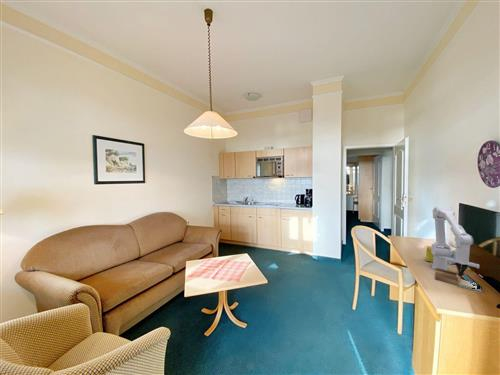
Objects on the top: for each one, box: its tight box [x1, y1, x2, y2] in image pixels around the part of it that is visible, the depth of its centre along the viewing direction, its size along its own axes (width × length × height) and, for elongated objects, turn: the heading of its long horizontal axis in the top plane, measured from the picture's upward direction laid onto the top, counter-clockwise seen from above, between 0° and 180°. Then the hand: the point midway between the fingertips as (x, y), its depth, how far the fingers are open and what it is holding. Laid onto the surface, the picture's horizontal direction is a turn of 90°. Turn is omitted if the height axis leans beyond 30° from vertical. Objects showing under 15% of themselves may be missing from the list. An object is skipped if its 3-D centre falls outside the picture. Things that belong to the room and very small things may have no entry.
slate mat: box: [457, 283, 483, 294], centre depth 126 cm, size 12×10×1 cm
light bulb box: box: [444, 246, 456, 265], centre depth 159 cm, size 11×7×11 cm, turn 113°
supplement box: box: [425, 245, 434, 264], centre depth 160 cm, size 6×6×11 cm
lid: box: [457, 275, 477, 289], centre depth 127 cm, size 7×8×3 cm
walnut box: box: [434, 268, 458, 286], centre depth 133 cm, size 10×10×4 cm
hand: (460, 275), depth 129 cm, fingers closed
